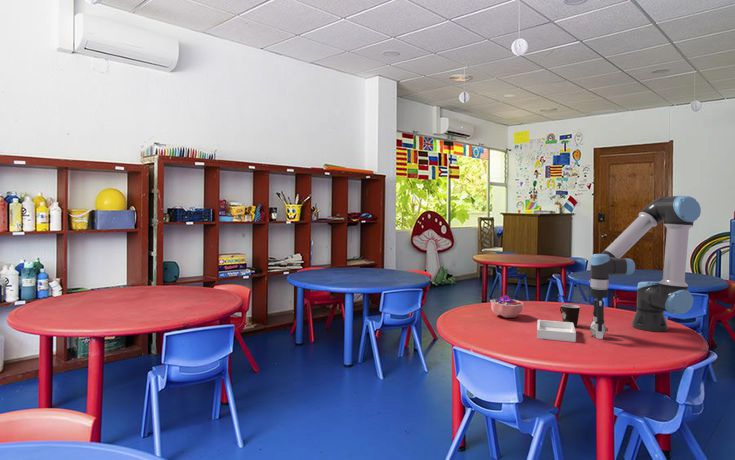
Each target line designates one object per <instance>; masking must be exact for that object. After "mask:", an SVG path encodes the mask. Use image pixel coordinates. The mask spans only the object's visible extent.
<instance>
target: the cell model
mask: <svg viewBox="0 0 735 460" xmlns="http://www.w3.org/2000/svg"><path fill="white" fill-rule="evenodd" d="M489 301H490V304H491V305H490V307H491V311H492V312H493V313H494V314H495V315H498V316H501V317H503V318H506V319H507V318H508V319H509V318H511V319H512V318H516V317H518V316H519V314H520V313H523V311H524V302H523V301H521V300H518V299H517V300H516V299H512V298H511V297H510V296H509V295H507V294H503V295H501V296H500V297H499V298H493V299H490V300H489Z"/></svg>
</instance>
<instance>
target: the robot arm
mask: <svg viewBox="0 0 735 460" xmlns="http://www.w3.org/2000/svg"><path fill="white" fill-rule="evenodd" d="M701 214H702V208H701V205H700V203H699V201H697V199H696V198H694V197H692V196H689V195H687V196H686V195H676V196H673V195H671V196H667V195H666V196H659V197H658V198H656V199H654V200H653V201H651V202H649V204H647V205H646V206H645V207H644V208H643V209H642V210H640V212H638V217H637V218H636V219H635V220H633V221H632V222H631V223H630V225H628V226H627V228H626V229H624V230H623V231H622V232H621V233H620V234H619V235H618V236H617V238H615V239H614V241H613V242H611V243H610V244H609V245H608V246H607V247H606V248H605V249H604V250H603V251H602V252H601V253H594V254H592V255H591V257H590V260H589V263H590V264H589V265H590V280H588V283H589V284H590V286H589V287H590V289H589V296H590V297H592V298H593V309H592V310H593V312H592V314H593V315H592V316H593V321H597V322H595V324H596V336H595V338H596V339H600V340H603V339H604V338H603V337H604V336H603V324H605V317H604V315H605V311H604V310H605V308H604V306H605V302H604V300H603V299H607V298H608V297H609V285H610V284H609V282H610V276H630V275H633V274H634V273H635V270H636V263H635V261H634V260H633V259H631V258H626V257H625V258H623V256H624V255H625V254H626V253H627V252H628V251H629V250H630V249H631V248H632V247H633V246H634V245H635V244H636V243H637V242H639V241H640V239H641V238H642V237H643V236H644V235H645V234H647V232H648V231H649V230H651V228H652V227H653V228H655V227H657V226H658V225H659V224H660V223H662V222H663V226H664V227H665V228H666V237H665V249H664V260H663V261H664V262H663V274H662V279H661V280H660V281H640V282H638V283H637V288H636V312H635V314H634V317H633V319H632V323H631V326H632V327H633V328H635V329H637V330H640V331H641V330H642V331H648V332H667V331H668V322H667V319H666V316H665V312H666V313H669V314H674V315H683V314H686V313H687V312H688V311H690V309H691V308H692V307H693V304H694V296H693V294H692V293H691V292H690V291H689V285H688V283H687V282H686V281H685V279H686V270H687V268H686V267H687V258H688V257H687V256H688V244H689V234H690V233H689V232H690V229H691V228H693V227H694V222H695V221H697V220H698V218H700V216H701Z"/></svg>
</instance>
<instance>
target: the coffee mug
mask: <svg viewBox="0 0 735 460" xmlns="http://www.w3.org/2000/svg"><path fill="white" fill-rule="evenodd" d="M580 309H581V306H580V305H575V304H570V303H569V304H561V306H560V307H559V311H560V314H561V316H562V317H561V318H562V322H572V323H573V324H574V328H575V329H576V328H577V327H578V321H579V316H580Z"/></svg>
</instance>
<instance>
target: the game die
mask: <svg viewBox="0 0 735 460" xmlns="http://www.w3.org/2000/svg"><path fill="white" fill-rule="evenodd" d="M591 321H592V322H591V324H590V325H589V326H587V330H589V331H590V333H591V336H590V338H593V337H596V324H595V322H597V321H593V319H591ZM608 330H609V328H607V327H606V324H605V323H604V324H603V339H605V337H604V336H605V334H606V332H608Z"/></svg>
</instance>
